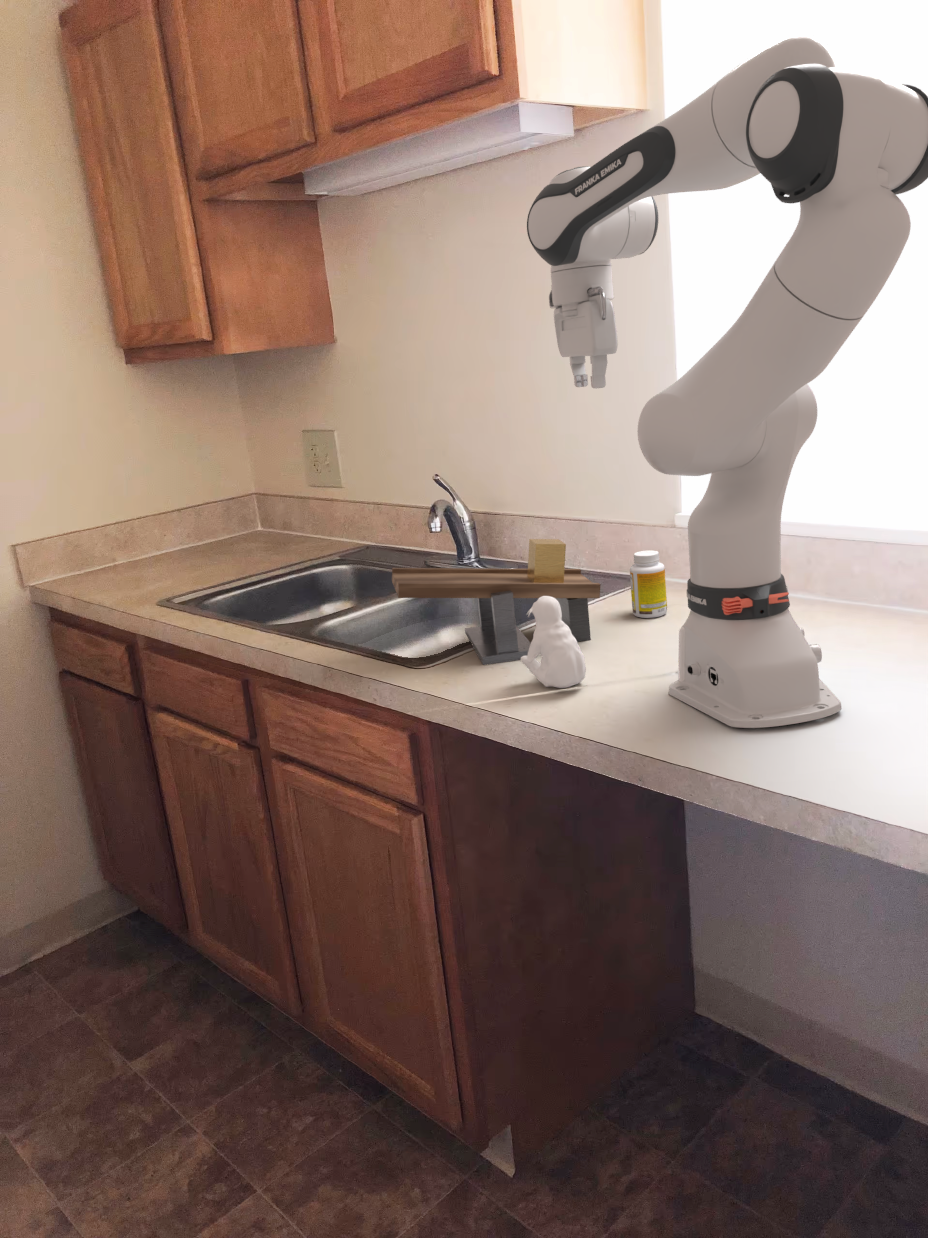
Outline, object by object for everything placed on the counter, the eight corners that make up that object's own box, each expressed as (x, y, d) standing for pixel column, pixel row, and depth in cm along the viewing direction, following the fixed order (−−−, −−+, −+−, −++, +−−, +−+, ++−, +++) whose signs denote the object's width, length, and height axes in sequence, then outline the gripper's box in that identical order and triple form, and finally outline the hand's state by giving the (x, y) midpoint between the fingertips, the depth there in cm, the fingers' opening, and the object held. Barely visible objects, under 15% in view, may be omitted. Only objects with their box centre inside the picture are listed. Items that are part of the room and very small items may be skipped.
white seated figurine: (562, 696, 130) (554, 607, 127) (520, 683, 137) (511, 598, 134) (597, 683, 134) (590, 596, 131) (555, 671, 140) (547, 588, 137)
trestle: (598, 647, 149) (593, 582, 146) (483, 665, 147) (475, 599, 144) (570, 620, 165) (565, 560, 162) (465, 635, 163) (458, 575, 160)
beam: (599, 604, 150) (600, 584, 149) (398, 604, 145) (398, 583, 144) (578, 587, 161) (579, 568, 160) (391, 586, 157) (392, 567, 156)
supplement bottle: (674, 613, 162) (671, 551, 159) (647, 621, 159) (643, 558, 157) (652, 607, 167) (648, 547, 164) (625, 615, 164) (621, 554, 162)
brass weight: (563, 583, 152) (565, 544, 150) (533, 583, 151) (535, 543, 150) (556, 577, 156) (558, 539, 155) (527, 577, 155) (529, 538, 154)
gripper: (625, 282, 137) (631, 386, 140) (585, 293, 156) (591, 383, 160) (580, 287, 136) (588, 391, 139) (545, 297, 155) (553, 388, 159)
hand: (589, 387), depth 150 cm, fingers open, 8 cm apart
